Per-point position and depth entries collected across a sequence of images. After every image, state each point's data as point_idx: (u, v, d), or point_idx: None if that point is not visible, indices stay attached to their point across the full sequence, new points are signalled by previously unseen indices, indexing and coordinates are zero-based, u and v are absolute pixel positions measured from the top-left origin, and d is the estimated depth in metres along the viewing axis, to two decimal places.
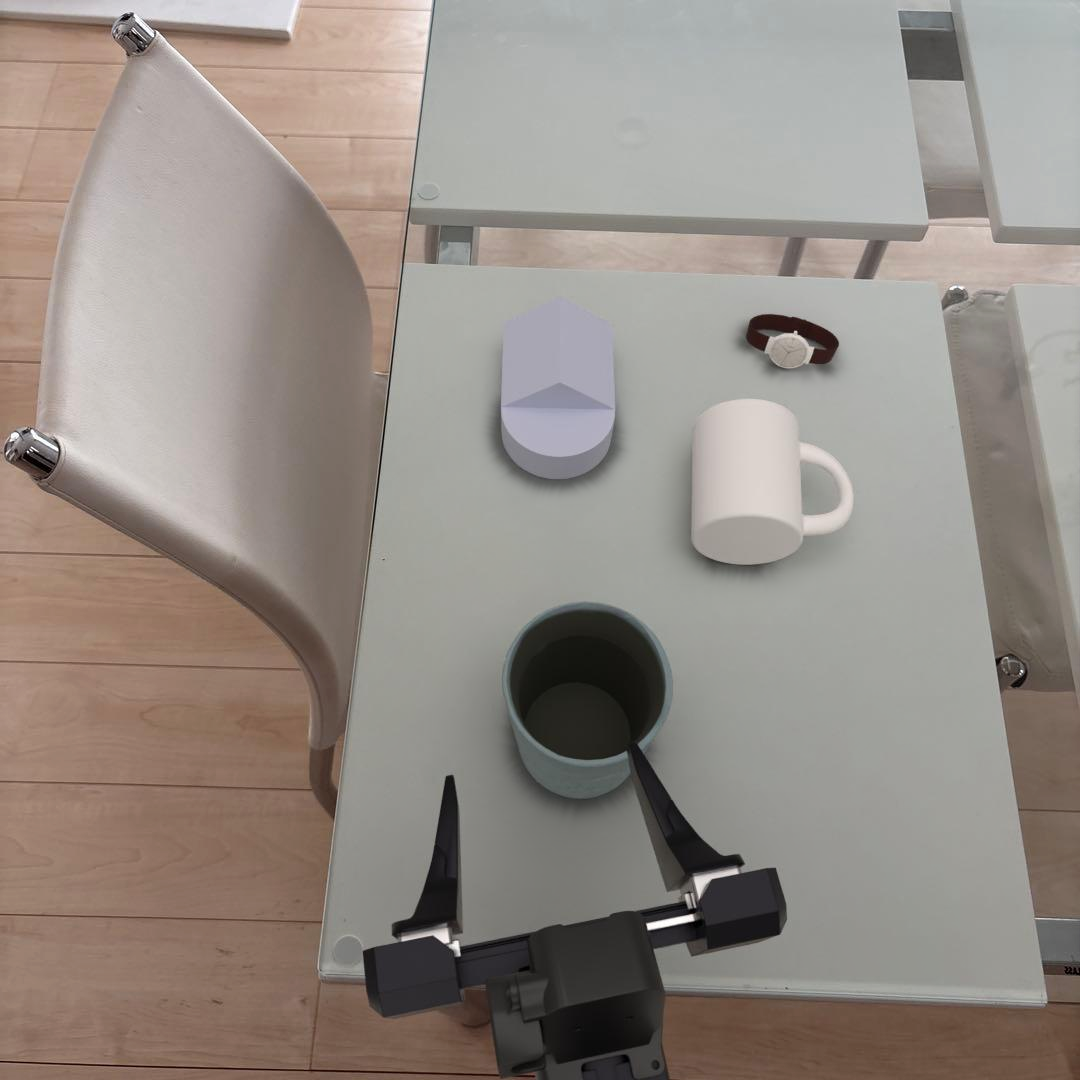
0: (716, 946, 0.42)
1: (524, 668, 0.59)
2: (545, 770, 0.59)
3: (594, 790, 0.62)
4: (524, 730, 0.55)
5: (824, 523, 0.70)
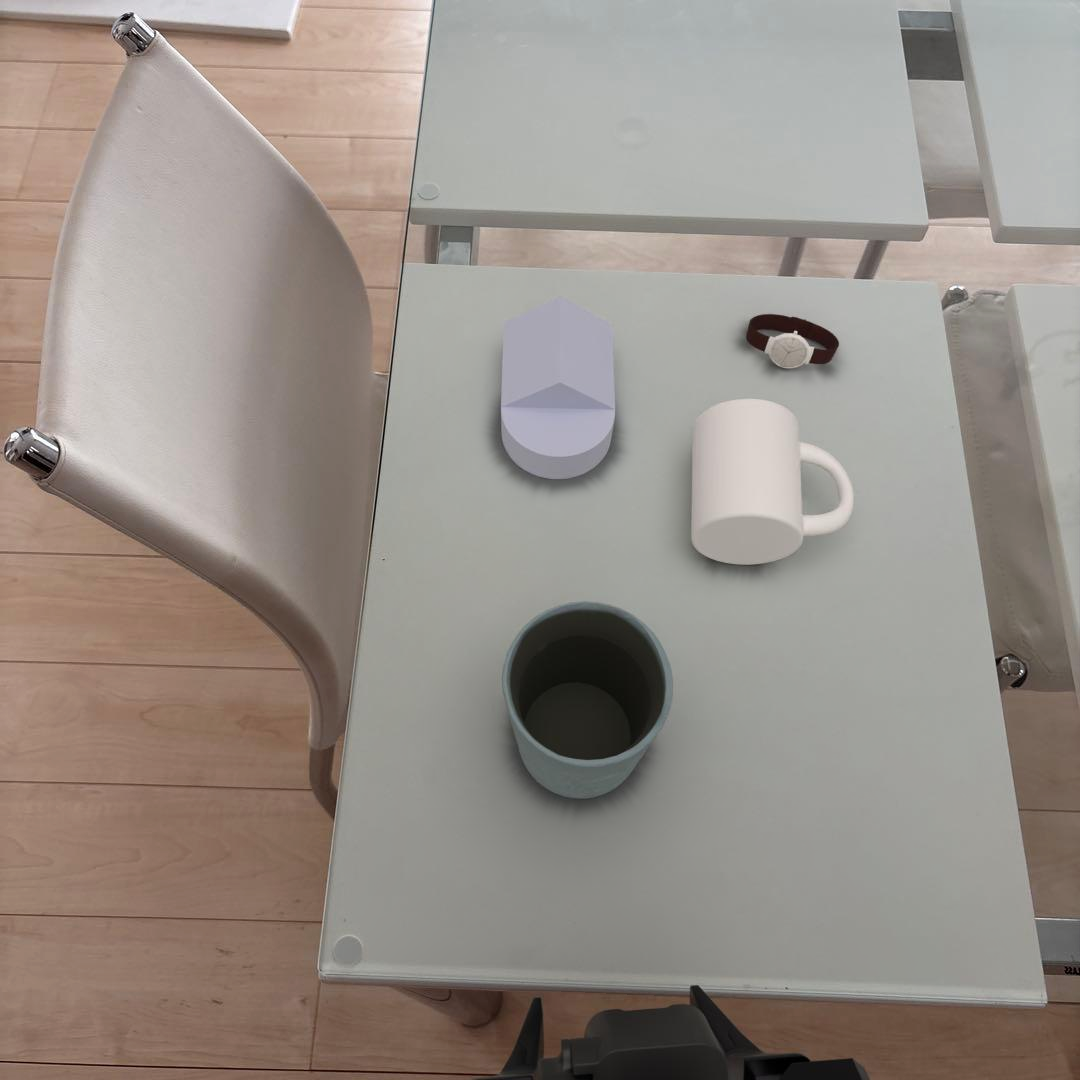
0: None
1: (524, 668, 0.59)
2: (545, 770, 0.59)
3: (594, 790, 0.62)
4: (524, 730, 0.55)
5: (824, 523, 0.69)
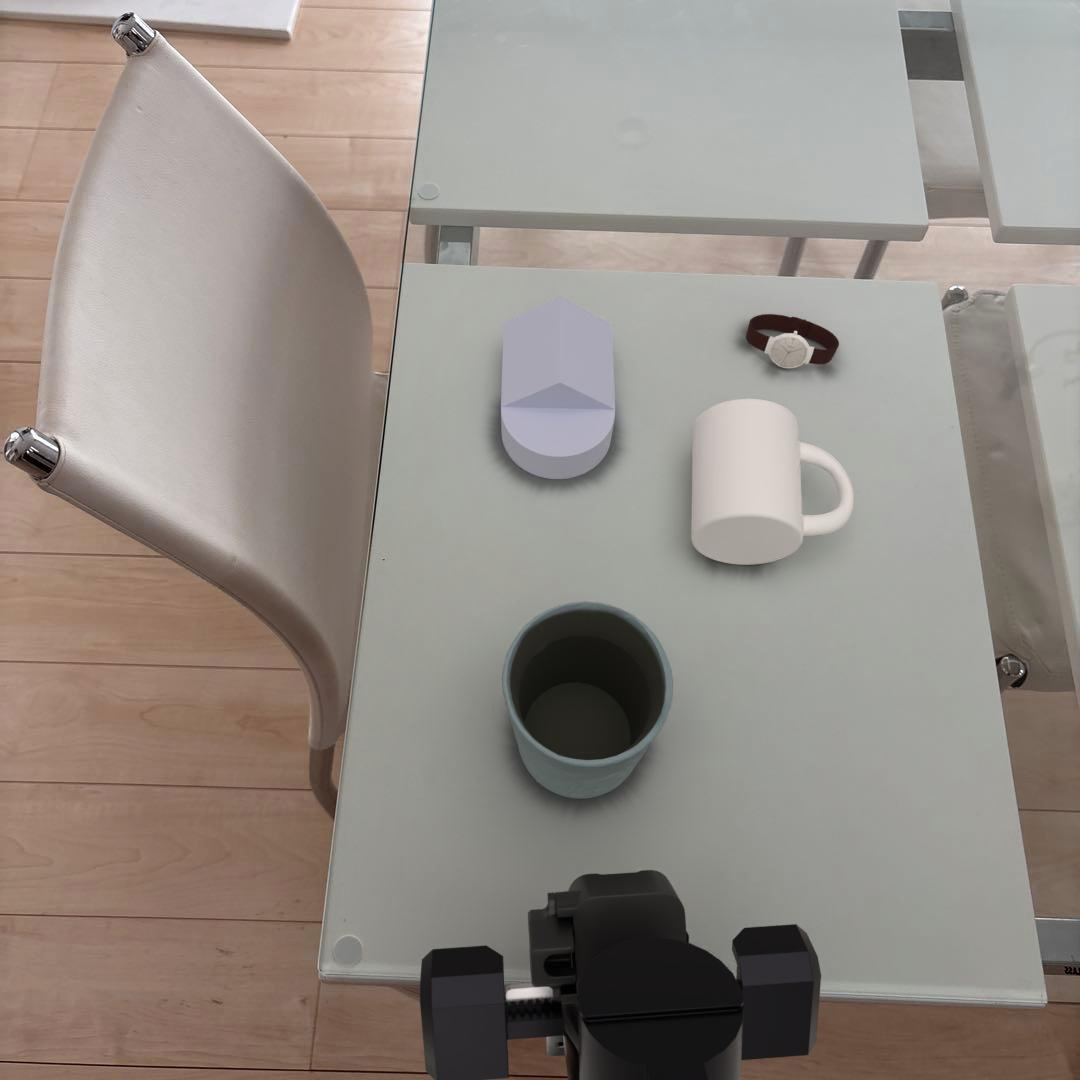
0: (750, 983, 0.44)
1: (524, 668, 0.59)
2: (545, 770, 0.59)
3: (594, 790, 0.62)
4: (524, 730, 0.55)
5: (824, 523, 0.69)
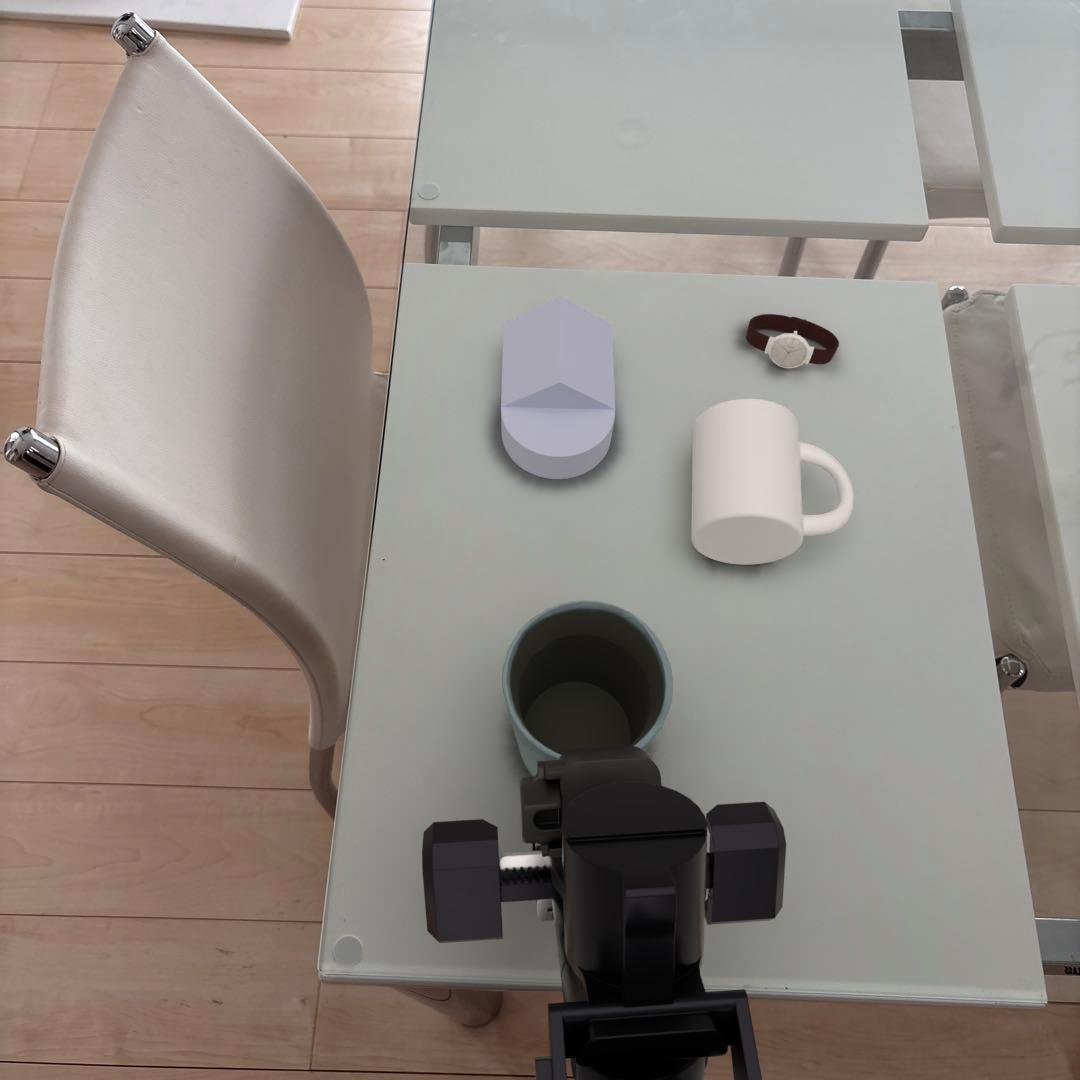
0: (722, 849, 0.48)
1: (524, 667, 0.59)
2: None
3: None
4: (524, 729, 0.55)
5: (824, 523, 0.69)
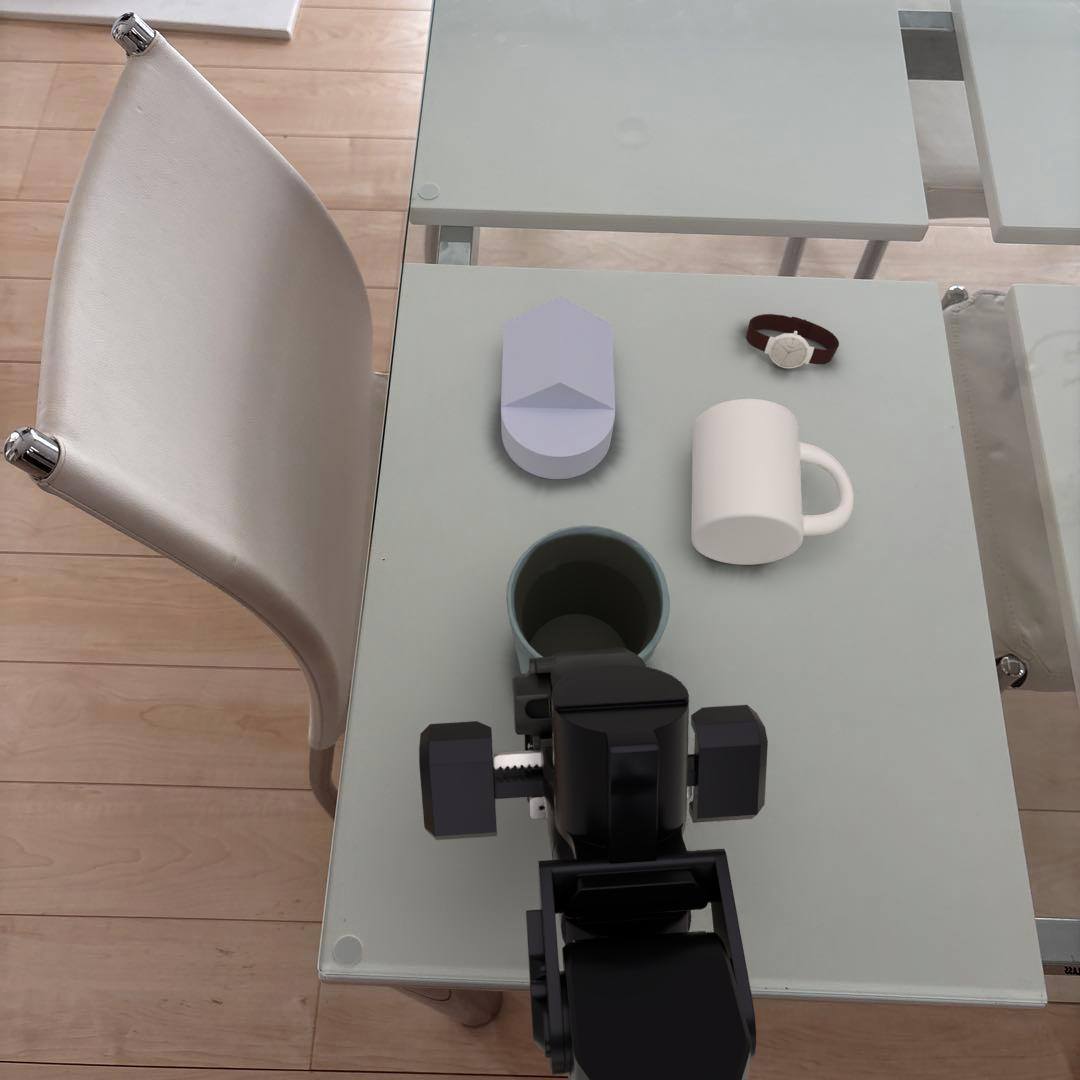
0: (706, 746, 0.51)
1: (532, 583, 0.62)
2: None
3: None
4: (520, 634, 0.57)
5: (824, 523, 0.69)
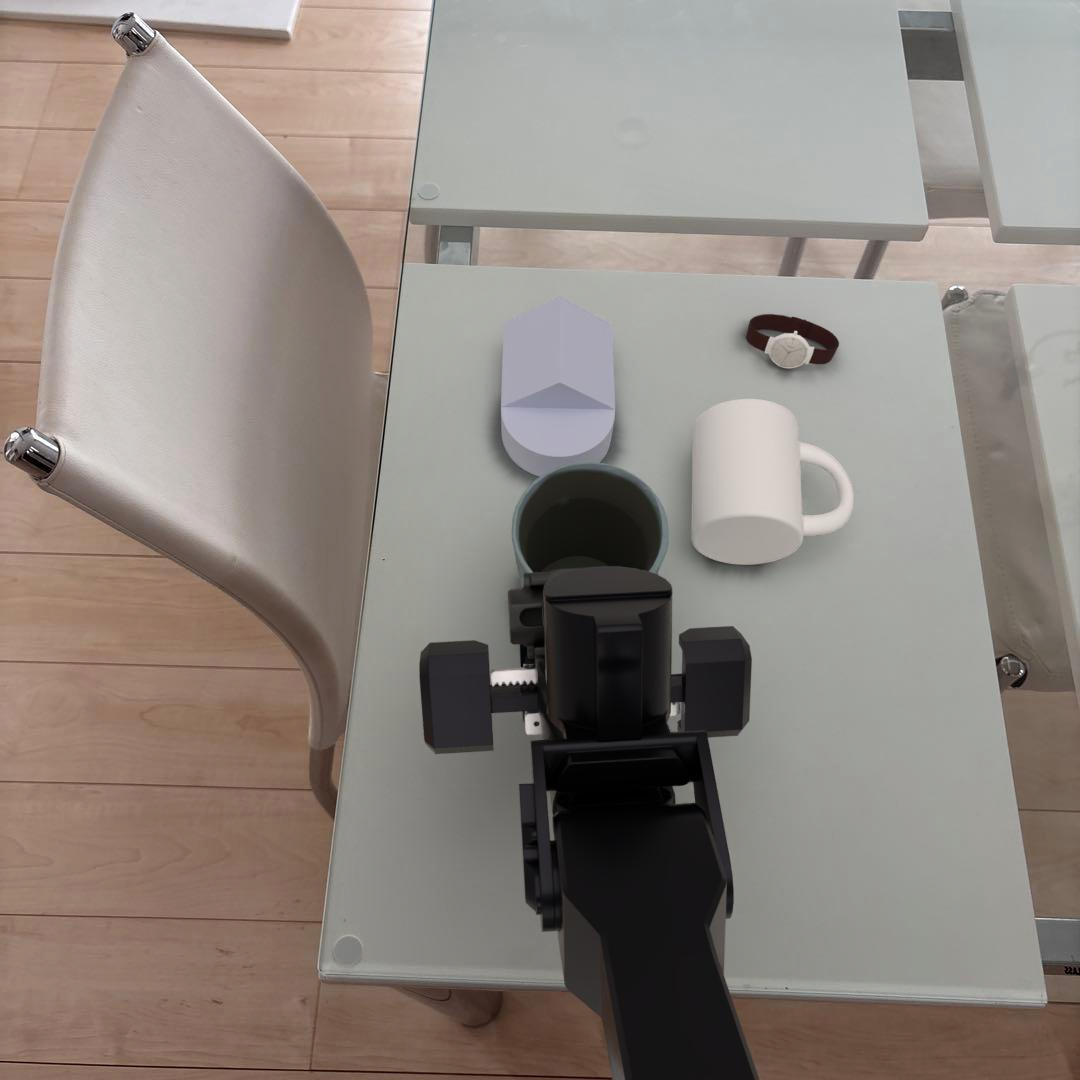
0: (692, 661, 0.53)
1: (542, 512, 0.65)
2: None
3: None
4: (519, 552, 0.60)
5: (824, 523, 0.69)
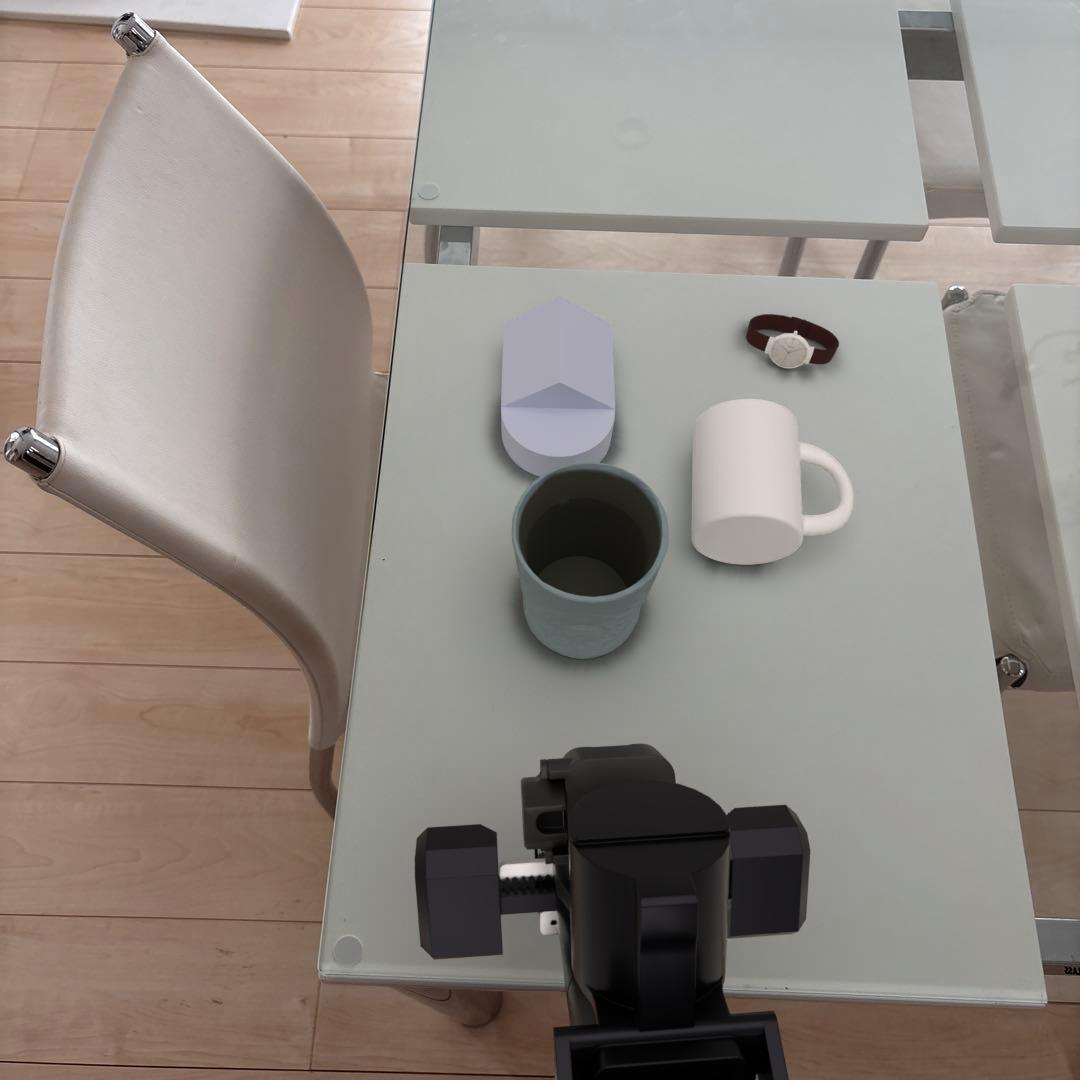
0: (741, 856, 0.44)
1: (542, 512, 0.65)
2: (534, 606, 0.64)
3: (576, 646, 0.67)
4: (519, 552, 0.60)
5: (824, 523, 0.69)
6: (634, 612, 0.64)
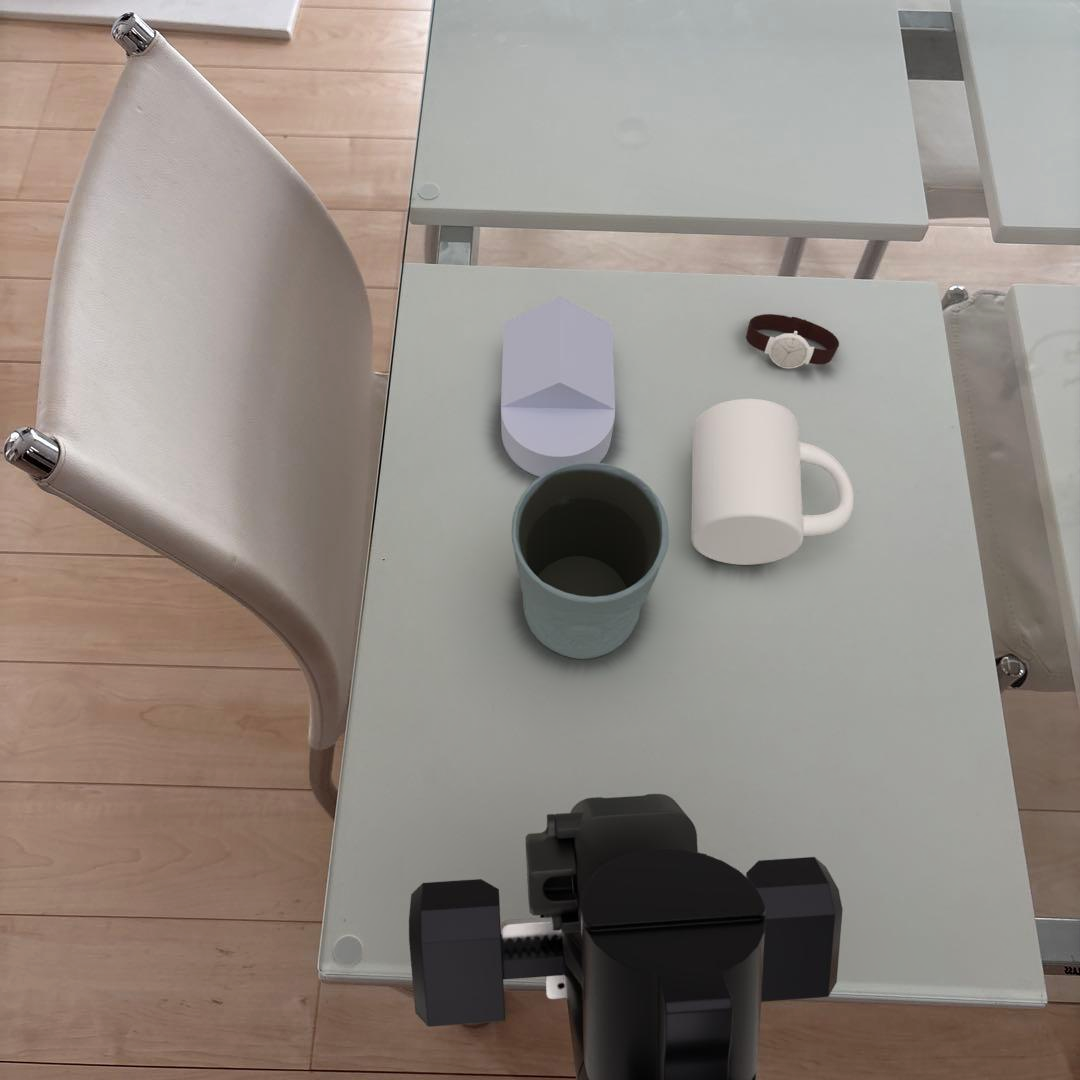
0: (766, 917, 0.41)
1: (542, 512, 0.65)
2: (534, 607, 0.64)
3: (576, 646, 0.67)
4: (519, 552, 0.60)
5: (824, 523, 0.69)
6: (634, 612, 0.64)
